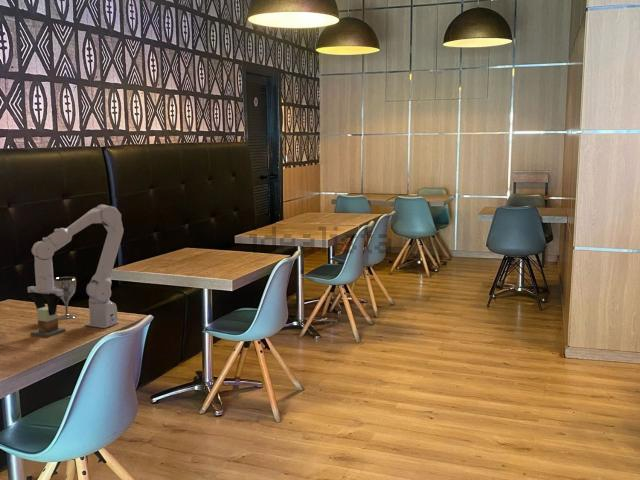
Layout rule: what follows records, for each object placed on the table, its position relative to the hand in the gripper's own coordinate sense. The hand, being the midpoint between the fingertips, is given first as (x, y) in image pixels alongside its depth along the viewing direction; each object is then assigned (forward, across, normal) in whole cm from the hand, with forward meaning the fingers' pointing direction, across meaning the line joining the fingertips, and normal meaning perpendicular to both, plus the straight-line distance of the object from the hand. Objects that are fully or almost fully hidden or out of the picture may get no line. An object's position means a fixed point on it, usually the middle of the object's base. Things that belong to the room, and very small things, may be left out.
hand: (46, 314), depth 220 cm
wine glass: (+7, -10, +19) cm, 23 cm away
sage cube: (+2, 0, 0) cm, 2 cm away
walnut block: (+6, 0, 0) cm, 6 cm away
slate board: (+7, 0, 0) cm, 7 cm away
